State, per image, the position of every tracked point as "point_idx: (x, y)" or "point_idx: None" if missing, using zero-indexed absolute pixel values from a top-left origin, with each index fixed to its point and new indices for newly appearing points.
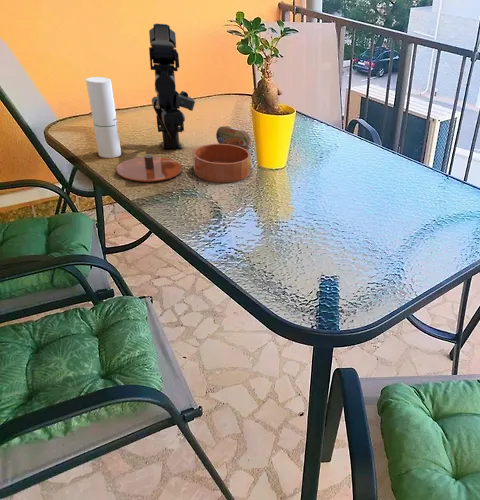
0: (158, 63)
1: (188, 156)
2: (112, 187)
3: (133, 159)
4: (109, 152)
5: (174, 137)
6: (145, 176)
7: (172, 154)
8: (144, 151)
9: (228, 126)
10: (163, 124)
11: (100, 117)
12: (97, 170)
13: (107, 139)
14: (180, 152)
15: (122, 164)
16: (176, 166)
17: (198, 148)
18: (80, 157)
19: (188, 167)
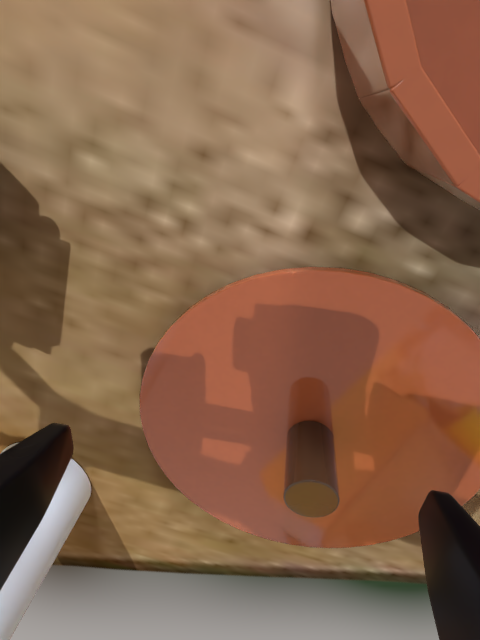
0: None
1: (139, 111)
2: (412, 578)
3: (165, 454)
4: (78, 513)
5: (466, 526)
6: (416, 490)
7: (80, 218)
8: (16, 349)
9: None
10: (26, 530)
11: None
12: (218, 557)
13: (38, 583)
14: (44, 143)
15: (217, 507)
16: (362, 306)
17: (439, 102)
18: (73, 552)
19: (362, 206)
